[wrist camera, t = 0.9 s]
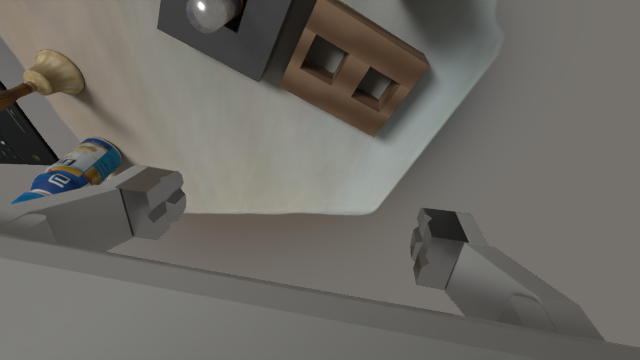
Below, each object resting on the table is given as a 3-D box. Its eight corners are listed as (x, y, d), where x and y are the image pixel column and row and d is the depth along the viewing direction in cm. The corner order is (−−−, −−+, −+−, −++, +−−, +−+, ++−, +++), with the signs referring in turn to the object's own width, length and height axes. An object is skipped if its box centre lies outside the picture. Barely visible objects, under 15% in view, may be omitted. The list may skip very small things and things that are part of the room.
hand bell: (26, 56, 54) (-71, 94, 42) (58, 43, 52) (-35, 78, 40) (63, 98, 59) (-14, 142, 47) (94, 87, 57) (21, 131, 44)
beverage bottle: (109, 171, 71) (41, 237, 56) (77, 144, 66) (-8, 208, 51) (131, 158, 67) (64, 225, 52) (98, 129, 63) (14, 193, 48)
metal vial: (226, -27, 42) (188, -14, 33) (253, -10, 43) (224, 7, 34) (218, 3, 45) (182, 22, 36) (244, 18, 46) (215, 41, 37)
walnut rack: (322, -11, 42) (319, -4, 38) (424, 54, 46) (429, 65, 42) (284, 74, 51) (278, 86, 47) (373, 122, 55) (373, 137, 51)
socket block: (193, -104, 37) (174, -107, 33) (307, -30, 41) (301, -26, 37) (173, 20, 47) (157, 28, 43) (266, 70, 51) (258, 82, 47)
